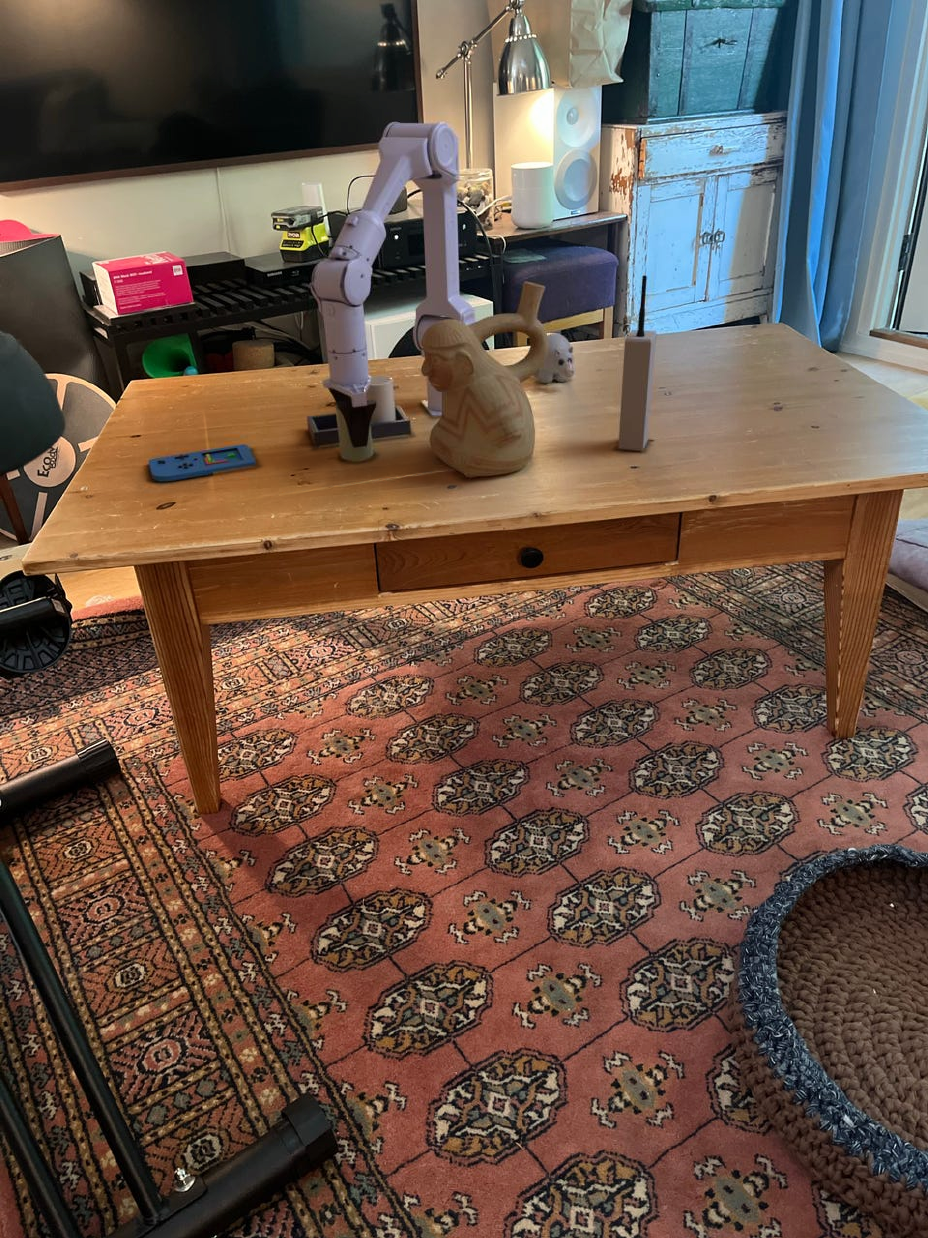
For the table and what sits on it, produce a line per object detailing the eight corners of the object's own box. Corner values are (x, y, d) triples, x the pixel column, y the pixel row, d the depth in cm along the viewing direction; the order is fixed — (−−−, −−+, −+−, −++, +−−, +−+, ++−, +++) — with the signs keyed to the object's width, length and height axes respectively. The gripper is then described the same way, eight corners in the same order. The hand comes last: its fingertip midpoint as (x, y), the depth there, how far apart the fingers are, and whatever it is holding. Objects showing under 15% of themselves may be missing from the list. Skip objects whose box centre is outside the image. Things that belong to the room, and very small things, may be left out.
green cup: (370, 449, 141) (365, 398, 137) (376, 460, 137) (371, 408, 132) (338, 453, 140) (332, 402, 135) (343, 464, 136) (338, 413, 131)
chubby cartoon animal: (548, 395, 160) (549, 347, 156) (526, 376, 170) (526, 330, 165) (586, 391, 162) (588, 342, 157) (562, 372, 171) (563, 326, 167)
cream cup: (392, 421, 150) (389, 373, 145) (399, 431, 146) (395, 382, 141) (363, 425, 149) (358, 377, 144) (369, 435, 144) (364, 386, 140)
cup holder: (400, 420, 152) (399, 404, 150) (411, 436, 145) (410, 420, 143) (308, 432, 148) (306, 416, 147) (315, 449, 142) (313, 432, 140)
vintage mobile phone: (648, 440, 140) (661, 270, 127) (642, 452, 136) (656, 278, 123) (624, 438, 141) (635, 270, 128) (618, 449, 137) (628, 277, 124)
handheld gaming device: (147, 457, 137) (246, 441, 142) (149, 464, 138) (247, 448, 142) (152, 476, 131) (255, 459, 135) (154, 483, 131) (256, 466, 136)
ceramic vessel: (406, 456, 138) (394, 285, 125) (520, 433, 144) (521, 269, 131) (450, 496, 125) (442, 310, 111) (574, 470, 131) (581, 291, 118)
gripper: (312, 338, 135) (322, 426, 142) (326, 364, 123) (337, 459, 130) (358, 333, 136) (366, 420, 143) (377, 359, 124) (385, 452, 131)
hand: (355, 438), depth 137 cm, fingers open, 6 cm apart
